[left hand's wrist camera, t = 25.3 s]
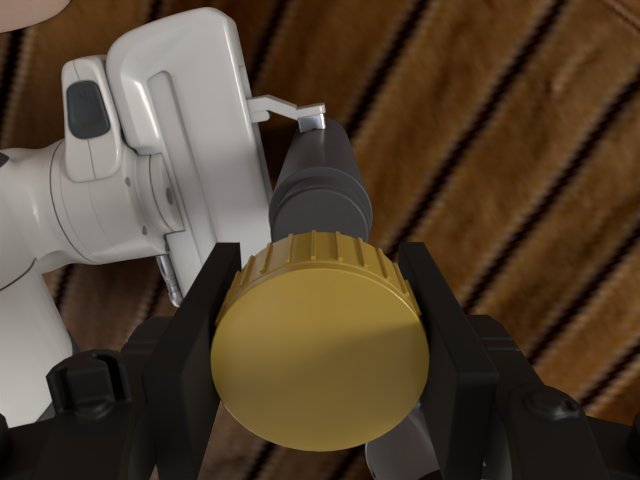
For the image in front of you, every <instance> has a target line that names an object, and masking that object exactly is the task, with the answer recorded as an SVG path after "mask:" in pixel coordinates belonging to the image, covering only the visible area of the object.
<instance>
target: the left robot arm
mask: <svg viewBox="0 0 640 480" xmlns="http://www.w3.org/2000/svg"><path fill="white" fill-rule="evenodd" d="M398 267H399V270H400V272H401V275H402V277H403V279H404V281H405V280H408V282H409V284H410V287H411V289H412V292H413V294H414V297H415V299H416V302H417V304H418V306H419V309H420V311H421V314H422V315H420V318H421V321H422V323H423V326H424V328H425V331H426V337H427V340H428V344H429V352H430V359H429V369H428V378H427V383H426V385H425V388H424V390H423V393H422V395H421V397H420V398H419V400H418V402H417V404H416V405H415V406H414V408H413V409H412V410H411V412H410V413H409V414H408V415H407V416H406V417H405V418H404V419H403V420H402V421H401V422H400V423H399V424H398V425H396V426H395V427H394V428H393V429H391V430H390V431H388V432H387V433H385V434H383V435H382V436H380V437H378V438H376V439H374V440H372V441H370V442H367V443H364V444H365V453H366V460H367V464H368V467H369V469H370V472H371V474H372V476H373V478H374V480H640V411H639V412H638V413H637V414H636V415H635V417H634V420H633V423H632V426H628V425H623V424H619V423H614V422H610V421H605V420H601V419H597V418H593V417H590V416H586V415H585V412H584V411H583V410H582V408H581V407H580V405H579V404H578V403H577V402H576V401H575V400H574V399H573V398H571V397H570V396H569V395H568V394H566V393H564V392H562V391H560V390H558V389H556V388H554V387H550V386H546V385H544V383H543V382H542V381H541V379H540V378H539V376H538V375H537V373H536V372H535V371H534V369H533V368H532V366H531V365H530V363H529V362H528V361H527V359H526V358H525V356H524V355H523V353H522V352H521V351H519V348H518V346H517V345H516V343H515V342H514V341H512V338H511V336H510V335H509V333H508V332H507V331H506V329H505V328H504V326H503V325H501V324H500V323H499V322H497V321H496V320H494V319H493V318H491V317H490V316H489V315H465V314H464V312H463V310H462V308H461V307H460V305H459V303H458V301H457V300H456V298H455V296H454V295H453V293H452V291H451V289H450V288H449V286H448V284H447V282H446V281H445V279H444V277H443V276H442V274H441V272H440V270H439V269H438V267H437V265H436V263H435V262H434V260H433V258H432V257H431V255H430V253H429V251H428V250H427V248H426V246H425V244H424V243H423V242H400V245H399V259H398ZM241 270H242V263H241V249H240V242H216V244H215V246H214V247H213V249H212V251H211V253H210V254H209V256H208V258H207V260H206V261H205V263H204V265H203V266H202V268H201V270H200V272H199V273H198V275H197V277H196V279H195V280H194V282H193V284H192V285H191V287H190V289H189V291H188V292H187V294H186V296H185V298H184V299H183V301H182V303H181V304H180V306H179V308H178V310H177V311H176V313H175V315H174V316H152V317H151V318H149V319H148V320H146V321H145V322H143V323H142V324H141V325H139V326H138V327H137V328H136V329H135V331H134V332H133V333H132V335H131V336H130V338H129V339H128V342H126V343H125V345H124V346H123V348H122V349H121V353H119V352H118V351H113V350H109V349H93V350H89V351H85V352H80V353H77V354H75V355H73V356H70V357H68V358H66V359H64V360H62V361H61V362H59V363H58V364H57V365H55V366H54V367H52V369H51V370H50V371H49V372H48V374H47V375H46V376H45V377H46V381H47V384H48V388H49V392H50V395H51V399H52V403H53V406H54V410H55V416H54V417H53V418H50V419H46V420H43V421H38V422H34V423H29V424H25V425H20V426H16V427H11V428H9V427H8V424H7V421H6V418H5V416H3V415H2V414H1V413H0V480H149V479H150V476H151V474H152V471H153V469H154V467H155V464H156V465H157V470H158V476H159V480H197V478H198V474H199V471H200V468H201V464H202V461H203V457H204V454H205V451H206V447H207V444H208V441H209V437H210V434H211V430H212V427H213V424H214V420H215V417H216V413H217V410H218V407H219V403H220V400H221V399H220V397H219V395H218V393H217V391H216V389H215V386H214V382H213V379H212V372H211V362H210V350H211V344H212V339H213V336H214V333H215V330H216V328H217V326H215V325H214V324H215V321H216V318H217V316H218V314H219V311H220V309H221V306H222V304H223V301H224V299H225V296H226V294H227V291H228V289H230V287H231V285H232V282H233V280H234V277H235V275H236V273H237V271H239V272H241Z"/></svg>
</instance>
